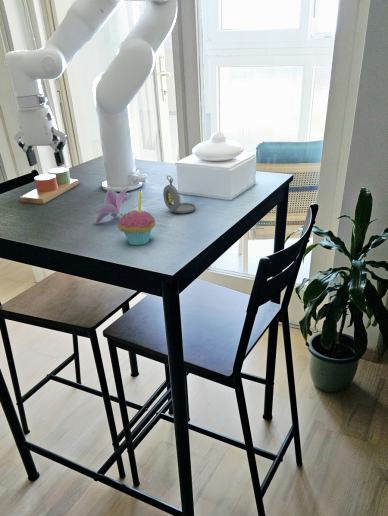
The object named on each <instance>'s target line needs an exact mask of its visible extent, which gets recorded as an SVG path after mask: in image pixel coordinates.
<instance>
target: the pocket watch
mask: <svg viewBox="0 0 388 516" xmlns="http://www.w3.org/2000/svg"><path fill="white" fill-rule="evenodd" d="M166 180H167V181H168V183H169V184H167V185H166V186H164V188H163V192H162V195H163V197H162V198H163V201H164V203H165V205H166V208H168V210H170V211H171V212H173V213H177V214H188V213H189V214H190V213H192V212H193V211H195V210H196V205H195V204H194V203H191V202H181V198H180V193H178V188H176V186H174V185H173V182H174V179H173V177H172V176H171V175H166Z"/></svg>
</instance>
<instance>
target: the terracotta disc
mask: <svg viewBox="0 0 388 516" xmlns="http://www.w3.org/2000/svg"><path fill="white" fill-rule="evenodd" d="M33 179H34V183H35V184H34V185H35V189H37V191H39V192H49V191H54V190H56V189H58V185H57V180H56V176H55V175H53V174H49V173H44V174H39V175H36V176H35V177H34V178H33Z"/></svg>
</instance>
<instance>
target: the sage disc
mask: <svg viewBox="0 0 388 516" xmlns="http://www.w3.org/2000/svg"><path fill="white" fill-rule="evenodd" d="M47 174H53V175H55V176H56V180H57V185H61V184H66V183H69V182H70V181H71V179H72V178H71V174H70V169H69V168H68V167H55V168H51V169H49V170H48V171H47Z"/></svg>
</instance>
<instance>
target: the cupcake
mask: <svg viewBox="0 0 388 516" xmlns="http://www.w3.org/2000/svg"><path fill="white" fill-rule="evenodd" d="M137 201H138V203H137V204H138V205H137V210H135V209H134V210H130V211H128V212H127V213H125V214H122V216H121V217H119V219H118V230H119V231H120V232H123V233H124V235H125V237H126V239H127V241H128V243H129V245H133V246H142V245H145V244H148V243H149V241H150V236H151V233H152V230H153V229H154V228H155V226H156V219H155V218H154V216H153V215H152V214H151V213H150V212H147V211H145V210H142V188H139V192H138V199H137Z"/></svg>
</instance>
